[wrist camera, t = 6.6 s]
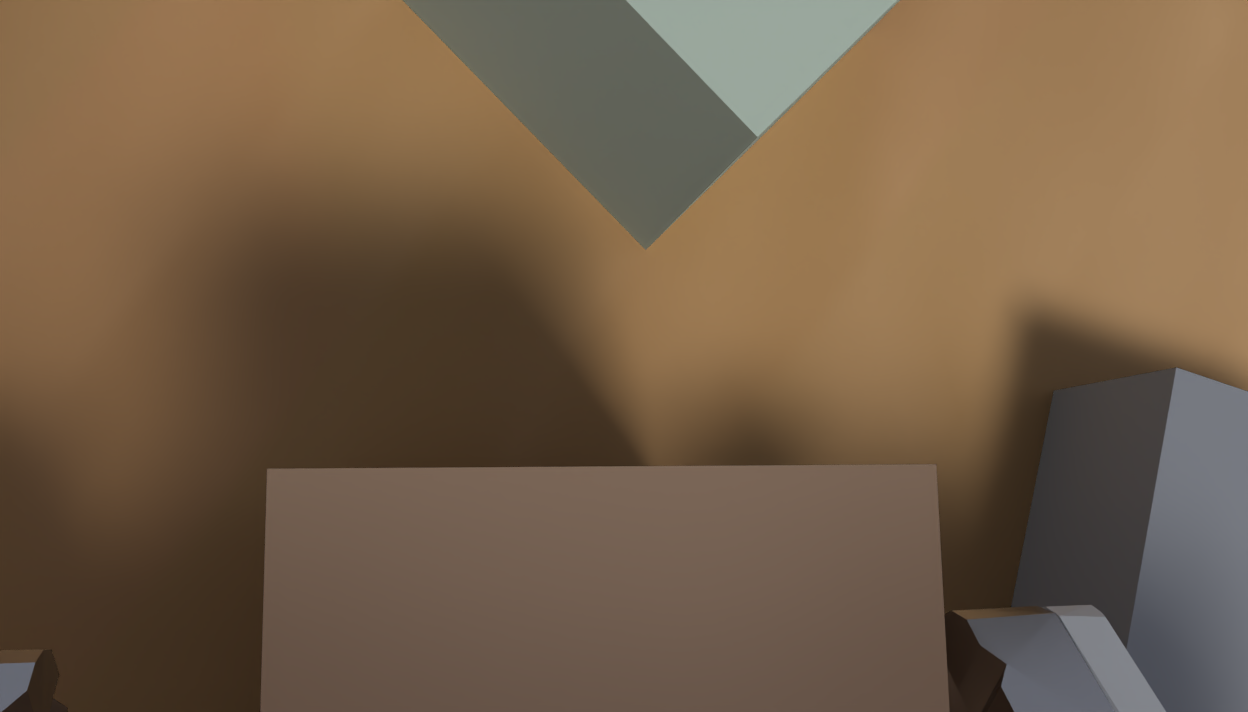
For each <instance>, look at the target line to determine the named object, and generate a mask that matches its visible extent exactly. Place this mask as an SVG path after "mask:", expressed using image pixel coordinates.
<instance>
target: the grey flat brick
mask: <svg viewBox="0 0 1248 712" xmlns="http://www.w3.org/2000/svg"><path fill="white" fill-rule="evenodd" d="M1071 605H1092V606H1094V607H1095V608H1096V609H1098V610H1099V611H1100V612H1102V613H1103V615H1104V616H1105V617H1106V618H1107V620H1108V622H1109V623H1110V625H1111V626H1112V628H1113V629H1114V631H1115V633H1116V634H1117V636H1118V637H1119V639H1120V640H1121V642H1122V644H1123V645H1124V647H1125V648H1126V650H1127V651H1128V653H1129V654H1130V656H1131V658H1132V659H1133V661H1134V662H1135V664H1136V665H1137V667H1138V669H1139V670H1140V672H1141V673H1142V675H1143V676H1144V678H1145V679H1146V681H1147V683H1148V684H1149V686H1150V687H1151V689H1152V690H1153V692H1154V694H1155V695H1156V697H1157V698H1158V700H1159V701H1160V703H1161V704H1162V706H1163V708H1164V709H1165V711H1166V712H1248V391H1245V390H1242V389H1239V388H1236V387H1233V386H1230V385H1227V384H1224V383H1221V382H1218V381H1215V380H1212V379H1209V378H1206V377H1203V376H1200V375H1197V374H1194V373H1191V372H1188V371H1185V370H1182V369H1179V368H1171V369H1166V370H1160V371H1155V372H1150V373H1145V374H1139V375H1134V376H1129V377H1123V378H1118V379H1113V380H1108V381H1102V382H1097V383H1092V384H1086V385H1081V386H1076V387H1071V388H1065V389H1060V390H1055V391H1054V392H1053V397H1052V402H1051V407H1050V412H1049V417H1048V422H1047V427H1046V432H1045V438H1044V443H1043V448H1042V453H1041V458H1040V463H1039V468H1038V473H1037V478H1036V483H1035V488H1034V493H1033V498H1032V503H1031V508H1030V514H1029V519H1028V524H1027V529H1026V534H1025V539H1024V544H1023V549H1022V554H1021V559H1020V564H1019V569H1018V574H1017V579H1016V584H1015V590H1014V595H1013V600H1012V605H1011V607H1025V606H1039V607H1048V606H1071Z"/></svg>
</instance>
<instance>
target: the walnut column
mask: <svg viewBox="0 0 1248 712" xmlns="http://www.w3.org/2000/svg"><path fill="white" fill-rule="evenodd" d="M260 712H950V710H949V691H948V673H947V654H946V636H945V617H944V598H943V580H942V561H941V542H940V524H939V505H938V487H937V468H936V464H898V465H747V466H595V467H444V468H292V469H267V488H266V524H265V560H264V597H263V633H262V669H261V706H260Z"/></svg>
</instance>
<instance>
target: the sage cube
mask: <svg viewBox="0 0 1248 712" xmlns="http://www.w3.org/2000/svg"><path fill="white" fill-rule="evenodd" d="M403 1H404V2H405V3H406V4H407V5H408V6H409V7H410V8H411V9H412V10H413V11H414V12H415V13H416V14H417V16H418V17H419V18H420V19H421V20H422V21H423V22H424V23H425V24H426V25H427V26H428V27H429V28H430V29H431V30H432V31H433V32H434V33H435V34H436V35H437V36H438V37H439V38H440V39H441V40H442V41H443V42H444V43H445V44H446V45H447V46H448V47H449V48H450V49H451V50H452V51H453V52H454V54H455V55H456V56H457V57H458V58H459V59H460V60H461V61H462V62H463V63H464V64H465V65H466V66H467V67H468V68H469V69H470V70H471V71H472V72H473V73H474V74H475V75H476V76H477V77H478V78H479V79H480V80H481V81H482V82H483V83H484V84H485V85H486V86H487V87H488V88H489V89H490V90H491V91H492V93H493V94H494V95H495V96H496V97H497V98H498V99H499V100H500V101H501V102H502V103H503V104H504V105H505V106H506V107H507V108H508V109H509V110H510V111H511V112H512V113H513V114H514V115H515V116H516V117H517V118H518V119H519V120H520V121H521V122H522V123H523V124H524V125H525V126H526V127H527V128H528V129H529V131H530V132H531V133H532V134H533V135H534V136H535V137H536V138H537V139H538V140H539V141H540V142H541V143H542V144H543V145H544V146H545V147H546V148H547V149H548V150H549V151H550V152H551V153H552V154H553V155H554V156H555V157H556V158H557V159H558V160H559V161H560V162H561V163H562V164H563V165H564V166H565V167H566V169H567V170H568V171H569V172H570V173H571V174H572V175H573V176H574V177H575V178H576V179H577V180H578V181H579V182H580V183H581V184H582V185H583V186H584V187H585V188H586V189H587V190H588V191H589V192H590V193H591V194H592V195H593V196H594V197H595V198H596V199H597V200H598V201H599V202H600V203H601V204H602V205H603V207H604V208H605V209H606V210H607V211H608V212H609V213H610V214H611V215H612V216H613V217H614V218H615V219H616V220H617V221H618V222H619V223H620V224H621V225H622V226H623V227H624V228H625V229H626V230H627V231H628V232H629V233H630V234H631V235H632V236H633V237H634V238H635V239H636V240H637V241H638V242H639V243H640V245H641V246H642V247H643V248H644V249H645V250H646V249H647V248H648V247H649V246H650V245H651V244H652V243H653V242H654V241H655V240H656V239H657V238H659V237H660V236H661V235H662V234H663V233H664V232H665V231H666V230H667V229H668V228H669V227H670V226H671V225H672V224H673V223H674V222H675V221H676V220H677V219H678V218H679V217H680V216H681V215H682V214H683V213H684V212H685V211H686V210H687V209H688V208H689V207H690V206H691V205H692V204H693V203H694V202H695V201H696V200H697V199H698V198H699V197H700V196H701V195H702V194H703V193H704V192H705V191H706V190H707V189H709V188H710V187H711V186H712V185H713V184H714V183H715V182H716V181H717V180H718V179H719V178H720V177H721V176H722V175H723V174H724V173H725V172H726V171H727V170H728V169H729V168H730V167H731V166H732V165H733V164H734V163H735V162H736V161H737V160H738V159H739V158H740V157H741V156H742V155H743V154H744V153H745V152H746V151H747V150H748V149H749V148H750V147H751V146H752V145H753V144H754V143H755V142H756V141H757V140H758V139H760V138H761V137H762V136H763V135H764V134H765V133H766V132H767V131H768V130H769V129H770V128H771V127H772V126H773V125H774V124H775V123H776V122H777V121H778V120H779V119H780V118H781V117H782V116H783V115H784V114H785V113H786V112H787V111H788V110H789V109H790V108H791V107H792V106H793V105H794V104H795V103H796V102H797V101H798V100H799V99H800V98H801V97H802V96H803V95H804V94H805V93H806V92H807V91H808V90H810V89H811V88H812V87H813V86H814V85H815V84H816V83H817V82H818V81H819V80H820V79H821V78H822V77H823V76H824V75H825V74H826V73H827V72H828V71H829V70H830V69H831V68H832V67H833V66H834V65H835V64H836V63H837V62H838V61H839V60H840V59H841V58H842V57H843V56H844V55H845V54H846V53H847V52H848V51H849V50H850V49H851V48H852V47H853V46H854V45H855V44H856V43H857V42H858V41H860V40H861V39H862V38H863V37H864V36H865V35H866V34H867V33H868V32H869V31H870V30H871V29H872V28H873V27H874V26H875V25H876V24H877V23H878V22H879V21H880V20H881V19H882V18H883V17H884V16H885V15H886V14H887V13H888V12H889V11H890V10H891V9H892V8H893V7H894V6H895V5H896V4H897V3H898V2H899V1H900V0H403Z"/></svg>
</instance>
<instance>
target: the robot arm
mask: <svg viewBox="0 0 1248 712" xmlns="http://www.w3.org/2000/svg"><path fill="white" fill-rule="evenodd" d="M944 617H945V636H946V654H947V673H948V691H949V710H950V712H1166V711H1165V709H1164V708H1163V706H1162V704H1161V703H1160V701H1159V700H1158V698H1157V697H1156V695H1155V694H1154V692H1153V690H1152V689H1151V687H1150V686H1149V684H1148V683H1147V681H1146V679H1145V678H1144V676H1143V675H1142V673H1141V672H1140V670H1139V669H1138V667H1137V665H1136V664H1135V662H1134V661H1133V659H1132V658H1131V656H1130V654H1129V653H1128V651H1127V650H1126V648H1125V647H1124V645H1123V644H1122V642H1121V640H1120V639H1119V637H1118V636H1117V634H1116V633H1115V631H1114V629H1113V628H1112V626H1111V625H1110V623H1109V622H1108V620H1107V618H1106V617H1105V616H1104V615H1103V613H1102V612H1100V611H1099V610H1098V609H1096V608H1095V607H1094V606H1092V605H1071V606H1048V607H1039V606H1025V607H1007V608H989V609H971V610H953V611H950V612H949V613H947V614H946V615H944ZM58 678H59V672H58V669H57V665H56V662H55V658H54V655H53V652H52V650H45V649H40V650H0V712H68V708H67V707H65V706H64V705H62V704H61V703H59V702H58V701H56V700H55V699H53V697H54V693H55V689H56V685H57V682H58Z"/></svg>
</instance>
